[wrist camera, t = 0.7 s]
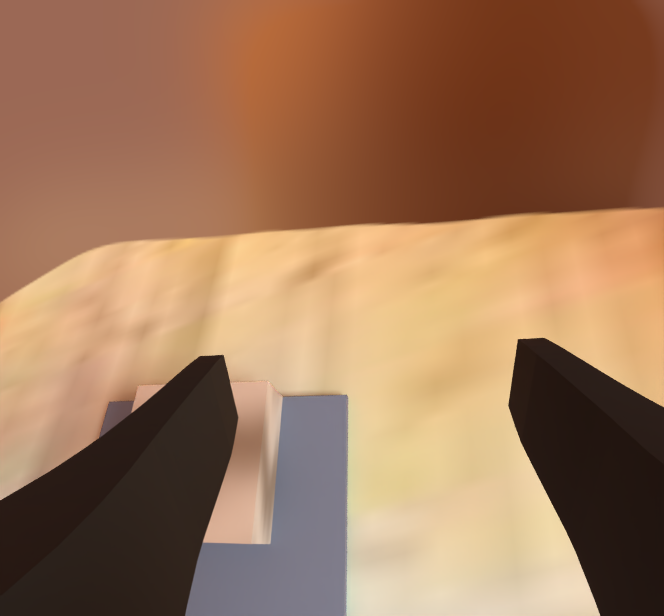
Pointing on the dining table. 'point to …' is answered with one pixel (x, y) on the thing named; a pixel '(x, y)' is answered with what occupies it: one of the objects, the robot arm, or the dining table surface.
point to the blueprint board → (274, 507)
